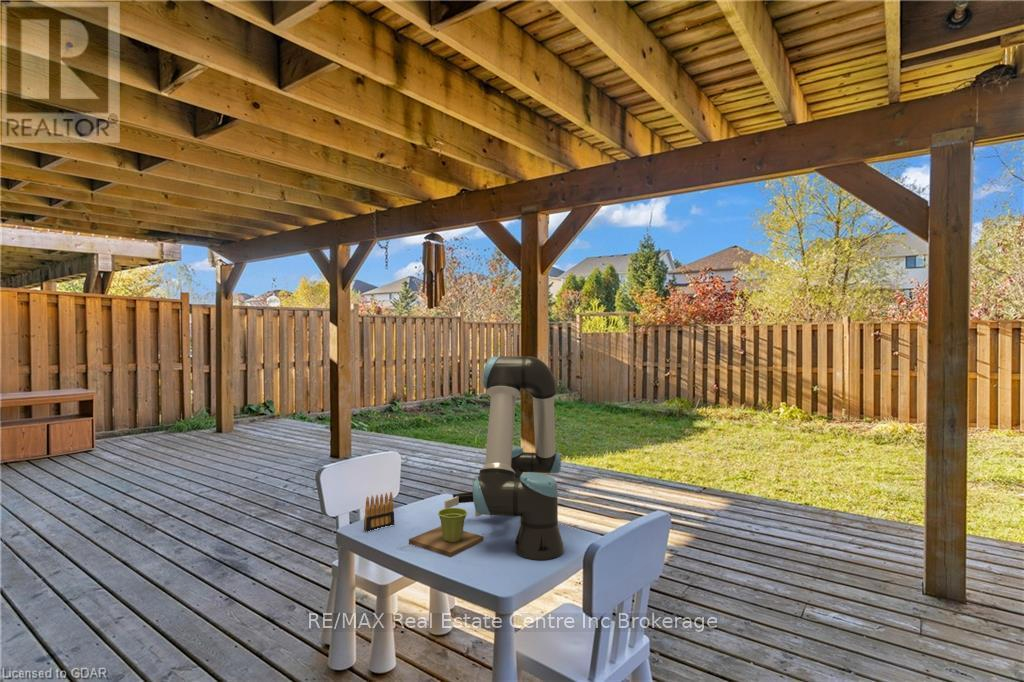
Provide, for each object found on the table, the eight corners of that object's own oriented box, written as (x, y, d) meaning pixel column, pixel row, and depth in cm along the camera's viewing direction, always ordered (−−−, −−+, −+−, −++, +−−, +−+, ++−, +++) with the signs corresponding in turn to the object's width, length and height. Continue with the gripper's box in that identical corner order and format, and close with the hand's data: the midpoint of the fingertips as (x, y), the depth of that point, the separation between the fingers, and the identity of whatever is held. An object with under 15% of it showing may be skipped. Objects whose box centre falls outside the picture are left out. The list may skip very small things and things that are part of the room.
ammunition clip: (366, 532, 178) (366, 497, 178) (363, 531, 179) (363, 496, 179) (394, 525, 185) (394, 491, 185) (392, 524, 186) (392, 490, 186)
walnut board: (483, 540, 170) (483, 536, 170) (450, 557, 157) (450, 552, 157) (443, 529, 181) (443, 525, 181) (408, 543, 168) (408, 539, 168)
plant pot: (462, 532, 174) (462, 506, 174) (470, 542, 165) (470, 514, 165) (435, 535, 171) (435, 509, 171) (441, 546, 162) (441, 518, 162)
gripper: (526, 510, 185) (489, 527, 168) (471, 498, 200) (433, 512, 182) (526, 489, 185) (489, 504, 168) (471, 478, 200) (433, 491, 182)
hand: (460, 508), depth 175 cm, fingers open, 13 cm apart
